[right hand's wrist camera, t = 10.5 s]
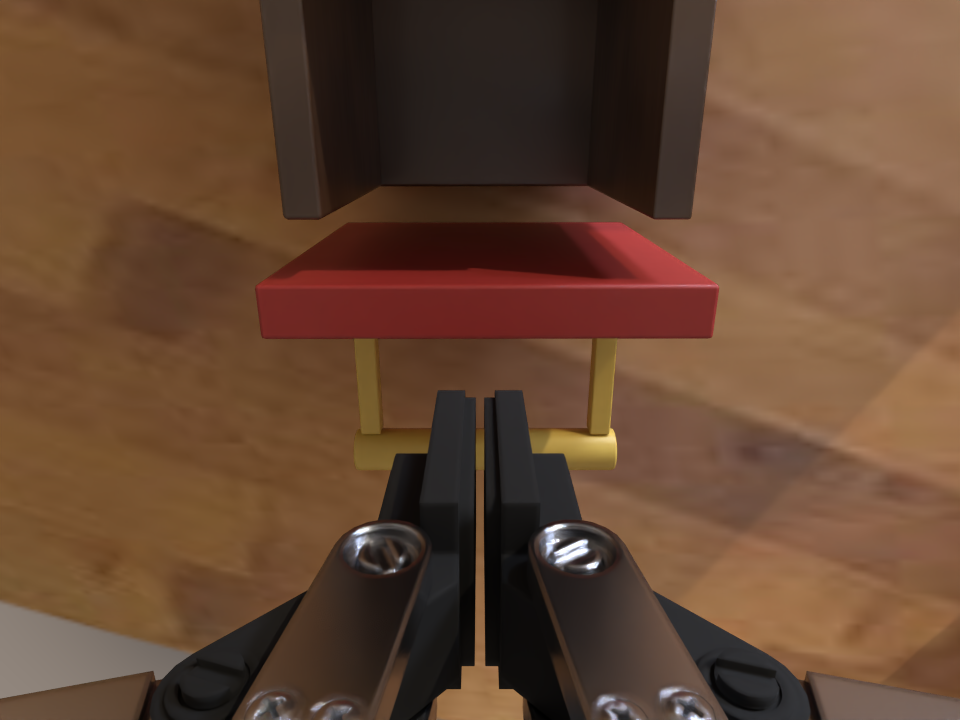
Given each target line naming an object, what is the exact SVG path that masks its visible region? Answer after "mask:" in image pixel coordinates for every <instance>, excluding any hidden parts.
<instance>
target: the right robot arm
mask: <svg viewBox="0 0 960 720" xmlns="http://www.w3.org/2000/svg"><path fill="white" fill-rule="evenodd" d="M475 575H476V398H465V390H438V392H437V398H436V405H435V411H434V417H433V423H432V429H431V435H430V441H429V447H428V453H397V454H396V455H395V458H394V461H393V465H392V469H391V473H390V477H389V480H388V484H387V488H386V492H385V496H384V499H383V503H382V507H381V511H380V515H379V518H378V521H372V522H367V523H365V524H362V525H359V526H357V527H354V528H353V529H351V530H350V531H348V532H347V533H345V534H344V535H342V537H341V538H340V539H339V540H338V541H337V543H336V544H335V545H334V547H333V549H332V550H331V552H330V554H329V555H328V557H327V559H326V560H325V562H324V564H323V566H322V567H321V569H320V571H319V572H318V574H317V576H316V577H315V579H314V581H313V582H312V584H311V586H310V588H309V589H308V590H307V591H306V592H304V593H302V594H300V595H298V596H297V597H295V598H293V599H291V600H289V601H288V602H286V603H284V604H282V605H280V606H279V607H277V608H275V609H273V610H271V611H270V612H268V613H266V614H264V615H262V616H261V617H259V618H257V619H255V620H253V621H252V622H250V623H248V624H246V625H244V626H242V627H241V628H239V629H237V630H235V631H233V632H232V633H230V634H228V635H226V636H224V637H223V638H221V639H219V640H217V641H215V642H214V643H212V644H210V645H208V646H206V647H205V648H203V649H201V650H199V651H197V652H196V653H194V654H192V655H191V656H189V657H188V658H186V659H185V660H183V661H182V662H180V663H179V664H177V665H176V666H175V667H174V668H173V669H172V670H171V671H170V672H169V673H168V674H167V675H166V676H165V677H164V678H163V679H162V680H155V676H154V672H153V671H150V672H145V673H139V674H134V675H128V676H123V677H117V678H112V679H106V680H101V681H95V682H90V683H84V684H79V685H73V686H68V687H62V688H57V689H51V690H46V691H41V692H35V693H29V694H24V695H18V696H13V697H7V698H2V699H0V720H436V718H437V697H438V696H439V695H440V694H441V693H442V692H444V691H445V690H446V689H461V670H462V666H475ZM484 575H485V666H498V670H499V689H514V690H515V691H516V692H518V693H519V694H520V695H521V696H522V697H523V718H524V720H960V699H958V698H953V697H947V696H942V695H936V694H931V693H925V692H920V691H914V690H909V689H903V688H898V687H892V686H887V685H881V684H876V683H870V682H865V681H859V680H854V679H848V678H843V677H837V676H832V675H826V674H821V673H816V672H810V671H807V672H806V676H805V680H798V679H797V678H796V677H795V676H794V675H793V674H792V673H791V672H790V671H789V670H788V669H787V668H786V667H785V666H784V665H783V664H781V663H780V662H778V661H777V660H775V659H774V658H772V657H771V656H769V655H768V654H766V653H764V652H763V651H761V650H759V649H757V648H755V647H754V646H752V645H750V644H748V643H746V642H745V641H743V640H741V639H739V638H737V637H736V636H734V635H732V634H730V633H728V632H727V631H725V630H723V629H721V628H719V627H718V626H716V625H714V624H712V623H710V622H708V621H707V620H705V619H703V618H701V617H699V616H698V615H696V614H694V613H692V612H690V611H689V610H687V609H685V608H683V607H681V606H680V605H678V604H676V603H674V602H672V601H671V600H669V599H667V598H665V597H663V596H662V595H660V594H658V593H656V592H654V591H653V590H652V589H651V588H650V586H649V584H648V582H647V581H646V579H645V577H644V576H643V574H642V572H641V571H640V569H639V567H638V566H637V564H636V562H635V560H634V559H633V557H632V555H631V554H630V552H629V550H628V549H627V547H626V545H625V544H624V543H623V541H622V540H621V539H620V538H619V537H618V535H616V534H615V533H613V532H612V531H610V530H609V529H607V528H606V527H603V526H601V525H598V524H595V523H593V522H588V521H582V518H581V515H580V511H579V507H578V503H577V499H576V496H575V492H574V488H573V484H572V480H571V477H570V473H569V469H568V465H567V461H566V458H565V455H564V454H563V453H532V447H531V441H530V435H529V429H528V423H527V417H526V411H525V405H524V398H523V392H522V390H495V398H484Z"/></svg>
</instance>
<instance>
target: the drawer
mask: <svg viewBox="0 0 960 720" xmlns="http://www.w3.org/2000/svg"><path fill="white" fill-rule="evenodd" d="M259 1H260V10H261V19H262V28H263V37H264V46H265V55H266V64H267V73H268V82H269V91H270V100H271V109H272V118H273V127H274V136H275V145H276V154H277V163H278V172H279V181H280V190H281V199H282V208H283V215H284V217H285V218H286V219H288V220H319V219H321V218H323V217H325V216H326V215H328V214H330V213H332V212H334V211H336V210H337V209H339V208H341V207H343V206H345V205H347V204H348V203H350V202H352V201H354V200H356V199H358V198H359V197H361V196H363V195H365V194H367V193H369V192H370V191H372V190H374V189H376V188H378V187H380V186H589V187H591V188H593V189H595V190H597V191H599V192H601V193H603V194H605V195H607V196H609V197H611V198H613V199H615V200H617V201H619V202H621V203H623V204H625V205H627V206H629V207H631V208H633V209H635V210H637V211H639V212H641V213H643V214H645V215H647V216H649V217H651V218H653V219H690V218H691V216H692V207H693V199H694V190H695V182H696V173H697V165H698V156H699V148H700V139H701V131H702V122H703V114H704V105H705V96H706V88H707V79H708V71H709V62H710V54H711V45H712V37H713V28H714V20H715V11H716V3H717V0H259ZM255 292H256V299H257V307H258V314H259V322H260V329H261V336H262V338H265V339H354V348H355V361H356V374H357V387H358V400H359V413H360V426H361V428H360V429H358V430H357V432H356V434H355V439H354V463H355V467H356V469H357V470H391V469H392V465H393V461H394V458H395V455H396V454H397V453H428V447H429V441H430V435H431V429H432V428H383V412H382V396H381V380H380V364H379V348H378V339H592V354H591V369H590V384H589V399H588V414H587V427H588V428H528V429H529V435H530V441H531V447H532V453H563V454H564V455H565V458H566V461H567V465H568V469H569V470H612V469H614V468H615V465H616V460H617V443H616V437H615V433H614V431H613V429H611V428H610V422H611V409H612V397H613V385H614V372H615V360H616V348H617V338H711V337H712V335H713V329H714V322H715V314H716V307H717V300H718V293H719V286H718V285H717V284H716V283H714V282H713V281H711V280H710V279H708V278H706V277H705V276H703V275H702V274H700V273H699V272H697V271H696V270H694V269H692V268H691V267H689V266H688V265H686V264H685V263H683V262H682V261H680V260H679V259H677V258H675V257H674V256H672V255H671V254H669V253H668V252H666V251H665V250H663V249H661V248H660V247H658V246H657V245H655V244H654V243H652V242H651V241H649V240H648V239H646V238H644V237H643V236H641V235H640V234H638V233H637V232H635V231H634V230H632V229H630V228H629V227H627V226H626V225H624V224H623V223H621V222H534V223H347V224H345V225H344V226H342V227H341V228H339V229H338V230H336V231H335V232H333V233H332V234H330V235H329V236H328V237H326V238H325V239H323V240H322V241H320V242H319V243H317V244H316V245H314V246H313V247H312V248H310V249H309V250H307V251H306V252H304V253H303V254H301V255H300V256H298V257H297V258H296V259H294V260H293V261H291V262H290V263H288V264H287V265H285V266H284V267H282V268H281V269H280V270H278V271H277V272H275V273H274V274H272V275H271V276H269V277H268V278H266V279H265V280H264V281H262V282H261V283H259V284H258V285H256V288H255ZM476 470H484V428H476Z"/></svg>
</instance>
